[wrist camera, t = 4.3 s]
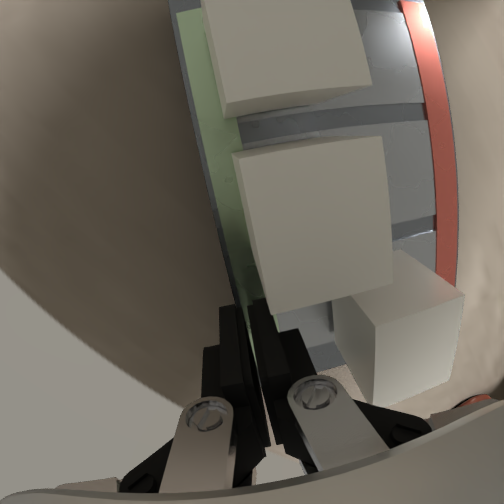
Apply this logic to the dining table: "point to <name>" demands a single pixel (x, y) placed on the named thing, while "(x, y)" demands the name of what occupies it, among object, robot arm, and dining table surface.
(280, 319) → the panel
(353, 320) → the block
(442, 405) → the dining table surface
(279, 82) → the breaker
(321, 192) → the block
